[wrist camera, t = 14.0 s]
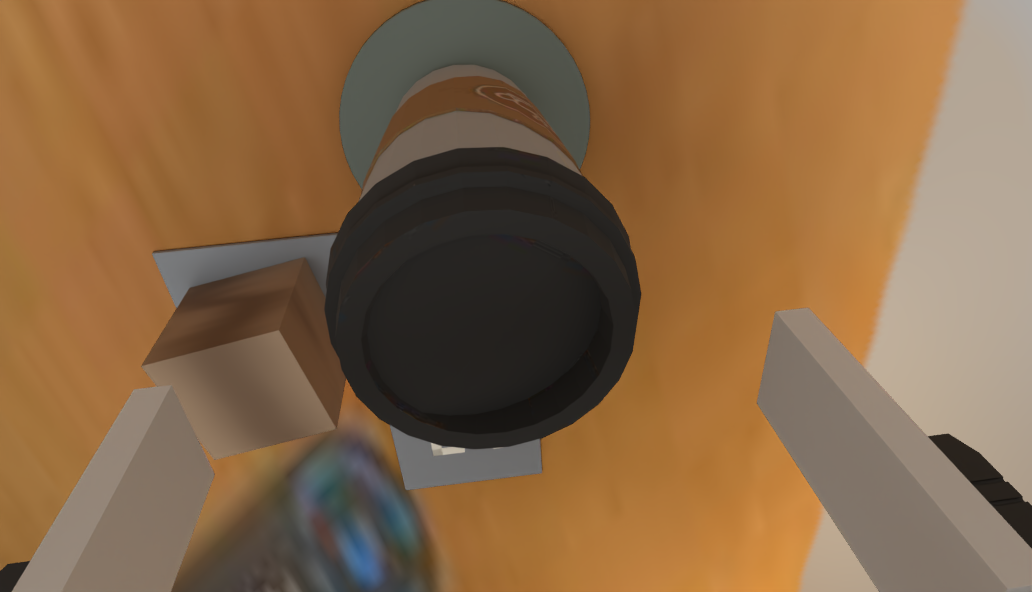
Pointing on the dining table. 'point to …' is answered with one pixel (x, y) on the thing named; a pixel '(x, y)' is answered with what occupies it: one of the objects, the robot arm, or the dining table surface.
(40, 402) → the dining table surface
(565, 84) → the coaster
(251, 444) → the brown cube
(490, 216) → the coffee cup
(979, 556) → the robot arm
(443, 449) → the tile
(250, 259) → the code tile
